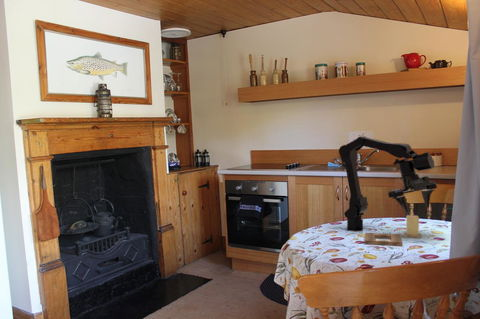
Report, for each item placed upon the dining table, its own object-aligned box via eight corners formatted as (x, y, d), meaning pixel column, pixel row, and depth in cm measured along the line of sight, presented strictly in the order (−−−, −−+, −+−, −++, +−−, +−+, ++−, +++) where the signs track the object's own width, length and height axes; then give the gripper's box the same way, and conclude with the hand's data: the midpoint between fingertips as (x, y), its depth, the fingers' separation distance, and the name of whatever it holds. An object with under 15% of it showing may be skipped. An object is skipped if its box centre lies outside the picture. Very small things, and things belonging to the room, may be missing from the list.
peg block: (407, 236, 170) (407, 217, 170) (406, 233, 175) (406, 215, 174) (418, 236, 169) (418, 218, 168) (417, 234, 173) (417, 215, 172)
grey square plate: (404, 239, 169) (404, 237, 169) (402, 234, 177) (402, 232, 177) (422, 240, 167) (422, 238, 167) (420, 235, 175) (420, 233, 174)
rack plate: (364, 246, 162) (364, 240, 161) (365, 238, 173) (365, 232, 173) (402, 248, 157) (402, 242, 157) (400, 240, 169) (400, 234, 168)
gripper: (395, 176, 161) (405, 215, 159) (439, 167, 162) (449, 205, 161) (383, 178, 172) (392, 214, 170) (425, 169, 174) (434, 205, 172)
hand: (417, 210), depth 168 cm, fingers open, 9 cm apart
